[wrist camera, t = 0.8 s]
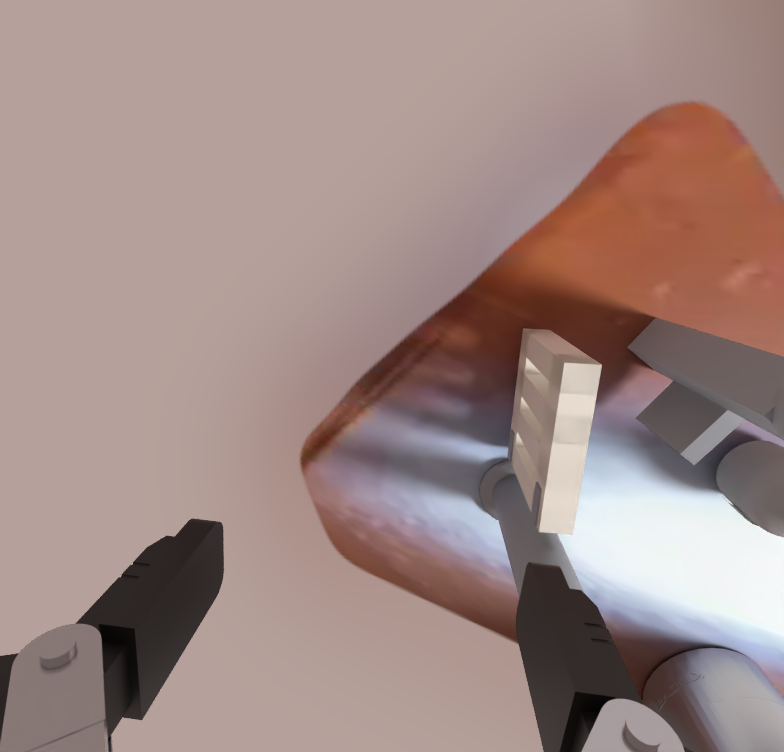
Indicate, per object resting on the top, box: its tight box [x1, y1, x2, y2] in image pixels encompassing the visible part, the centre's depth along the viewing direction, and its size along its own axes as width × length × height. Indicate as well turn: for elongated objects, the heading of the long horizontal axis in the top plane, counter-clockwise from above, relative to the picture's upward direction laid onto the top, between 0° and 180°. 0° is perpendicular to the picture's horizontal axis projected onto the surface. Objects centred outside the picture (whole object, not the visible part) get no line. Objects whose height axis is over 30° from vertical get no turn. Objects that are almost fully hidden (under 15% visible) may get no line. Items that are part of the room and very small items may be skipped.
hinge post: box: [480, 460, 585, 598], centre depth 25 cm, size 5×5×14 cm
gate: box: [508, 328, 602, 535], centre depth 25 cm, size 8×2×9 cm, turn 178°
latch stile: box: [627, 318, 784, 465], centre depth 22 cm, size 4×6×14 cm
